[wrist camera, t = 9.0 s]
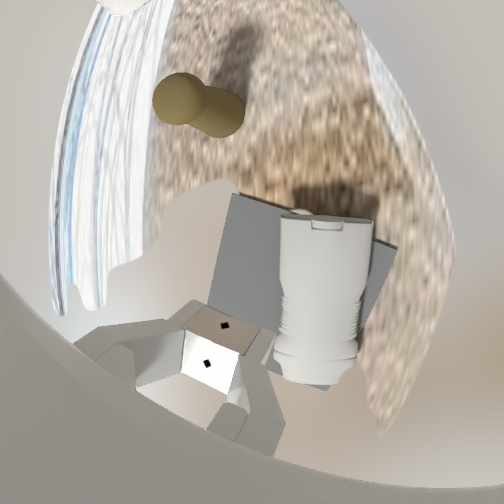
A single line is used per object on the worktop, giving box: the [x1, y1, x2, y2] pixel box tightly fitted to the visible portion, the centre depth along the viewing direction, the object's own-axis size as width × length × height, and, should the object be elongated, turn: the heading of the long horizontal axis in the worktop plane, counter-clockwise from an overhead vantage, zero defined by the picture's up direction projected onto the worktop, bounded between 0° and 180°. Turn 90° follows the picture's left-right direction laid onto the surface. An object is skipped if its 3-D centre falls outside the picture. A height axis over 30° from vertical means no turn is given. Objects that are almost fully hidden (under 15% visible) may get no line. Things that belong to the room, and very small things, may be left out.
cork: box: [152, 73, 245, 138], centre depth 26 cm, size 6×6×11 cm
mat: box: [207, 193, 397, 391], centre depth 35 cm, size 22×20×1 cm
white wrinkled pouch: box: [273, 214, 374, 385], centre depth 32 cm, size 11×4×22 cm
